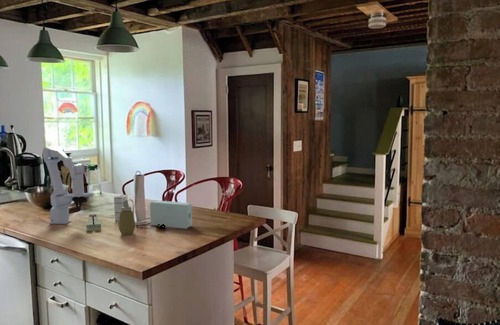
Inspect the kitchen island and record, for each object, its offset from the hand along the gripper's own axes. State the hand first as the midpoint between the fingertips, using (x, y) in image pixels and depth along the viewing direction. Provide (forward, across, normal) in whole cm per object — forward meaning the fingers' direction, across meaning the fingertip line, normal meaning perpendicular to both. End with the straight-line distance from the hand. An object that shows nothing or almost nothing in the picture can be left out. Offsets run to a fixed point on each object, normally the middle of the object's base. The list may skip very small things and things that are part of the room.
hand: (79, 210), depth 219 cm
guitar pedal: (+10, +47, -16) cm, 51 cm away
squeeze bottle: (+10, +23, -23) cm, 34 cm away
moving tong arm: (+9, +5, -1) cm, 11 cm away
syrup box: (+10, +23, +8) cm, 26 cm away
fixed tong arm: (+9, +8, +1) cm, 12 cm away
